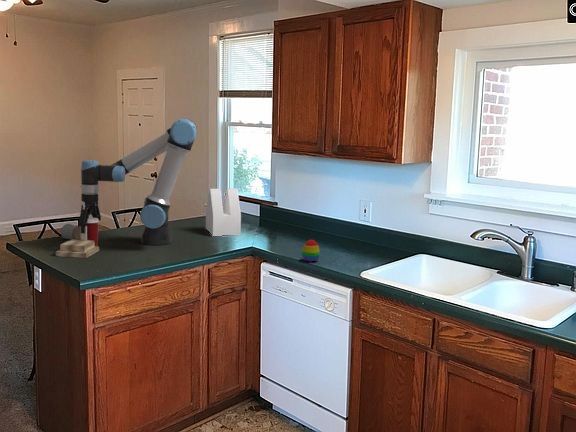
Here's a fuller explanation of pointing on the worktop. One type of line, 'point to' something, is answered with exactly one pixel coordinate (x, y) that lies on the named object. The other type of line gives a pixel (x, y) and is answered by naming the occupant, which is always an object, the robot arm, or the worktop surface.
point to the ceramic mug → (71, 232)
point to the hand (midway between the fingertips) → (89, 237)
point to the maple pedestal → (77, 248)
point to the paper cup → (92, 230)
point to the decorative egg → (311, 251)
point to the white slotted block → (223, 213)
